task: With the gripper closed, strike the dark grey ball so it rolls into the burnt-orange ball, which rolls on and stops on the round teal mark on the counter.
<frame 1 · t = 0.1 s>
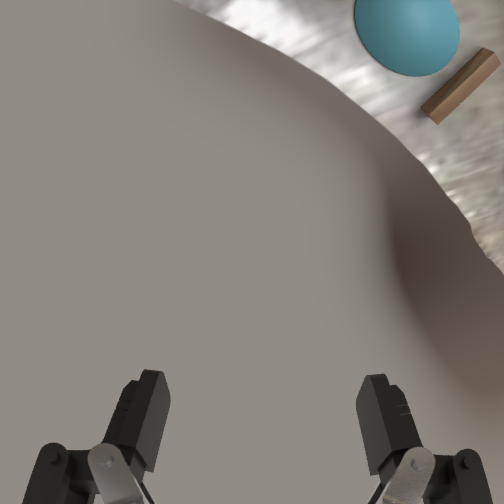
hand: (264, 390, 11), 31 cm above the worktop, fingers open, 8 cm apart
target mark: (411, 23, 22), on the worktop
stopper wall: (457, 81, 26), on the worktop
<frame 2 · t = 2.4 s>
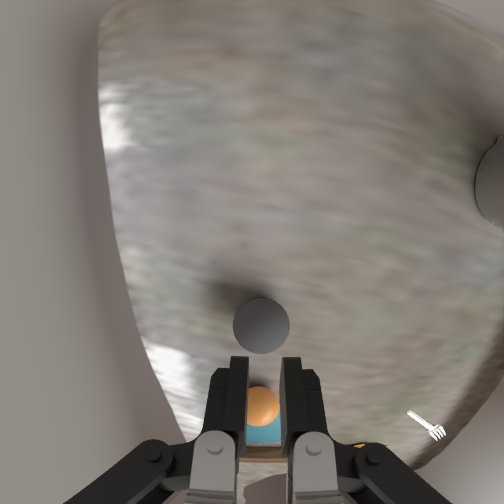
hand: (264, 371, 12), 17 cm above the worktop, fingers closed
object ball: (258, 406, 35), on the worktop
dark grey ball: (261, 326, 29), on the worktop
fork: (425, 421, 44), on the worktop
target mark: (257, 423, 41), on the worktop
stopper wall: (256, 449, 46), on the worktop
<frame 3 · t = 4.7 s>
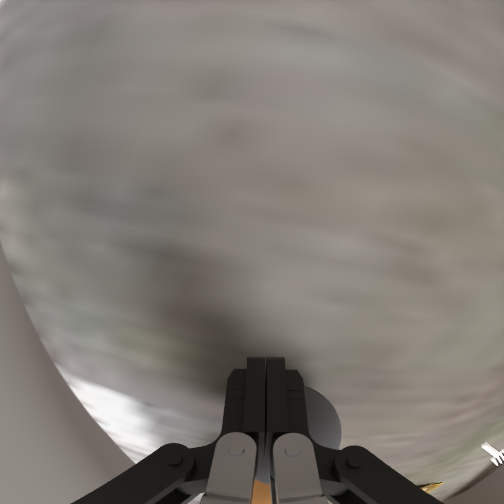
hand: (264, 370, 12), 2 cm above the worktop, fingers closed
object ball: (274, 484, 16), on the worktop
dark grey ball: (285, 435, 13), on the worktop
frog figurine: (393, 495, 29), on the worktop
fork: (491, 447, 25), on the worktop
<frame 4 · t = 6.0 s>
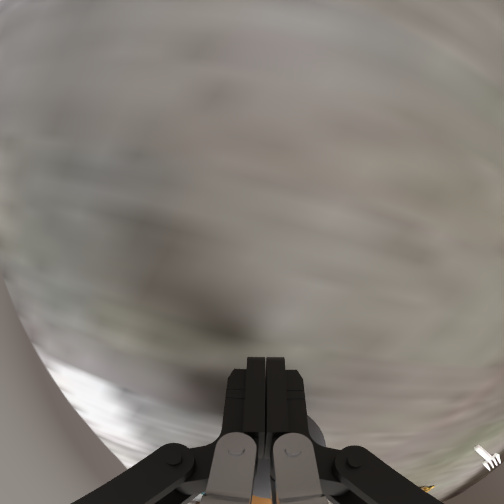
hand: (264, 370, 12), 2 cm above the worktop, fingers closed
dark grey ball: (273, 452, 13), on the worktop
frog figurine: (382, 499, 28), on the worktop
fork: (484, 451, 25), on the worktop
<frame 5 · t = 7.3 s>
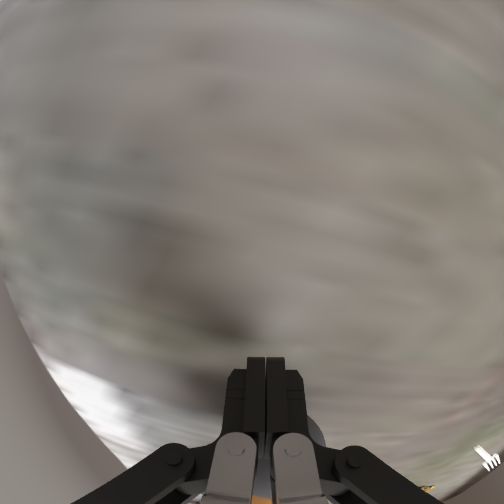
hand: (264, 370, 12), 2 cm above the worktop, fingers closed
dark grey ball: (273, 452, 13), on the worktop
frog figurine: (383, 498, 28), on the worktop
fork: (484, 451, 25), on the worktop
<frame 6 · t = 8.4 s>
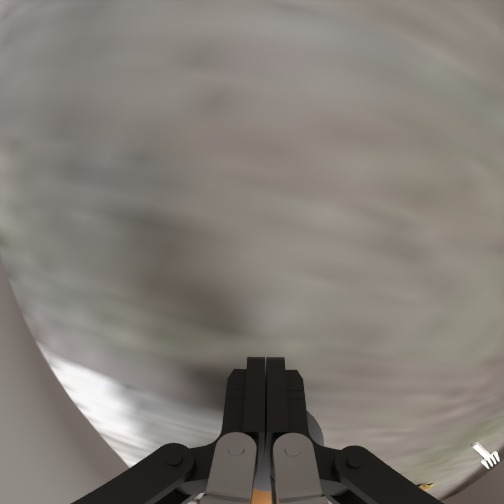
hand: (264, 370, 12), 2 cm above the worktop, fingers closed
object ball: (257, 494, 18), on the worktop
dark grey ball: (272, 446, 14), on the worktop
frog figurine: (382, 496, 29), on the worktop
fork: (483, 449, 25), on the worktop
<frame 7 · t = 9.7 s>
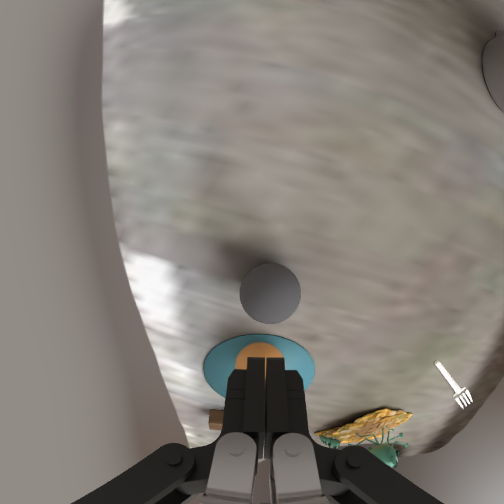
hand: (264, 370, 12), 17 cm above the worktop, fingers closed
object ball: (260, 366, 31), on the worktop
dark grey ball: (270, 293, 27), on the worktop
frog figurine: (366, 420, 42), on the worktop
fork: (451, 380, 39), on the worktop
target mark: (259, 374, 36), on the worktop
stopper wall: (257, 415, 40), on the worktop
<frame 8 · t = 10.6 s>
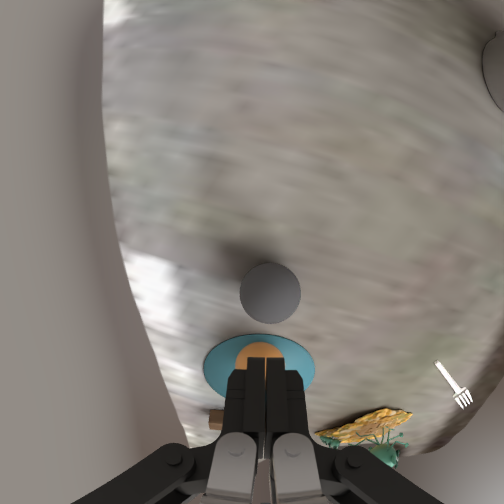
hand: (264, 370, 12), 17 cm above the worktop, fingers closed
object ball: (260, 366, 31), on the worktop
dark grey ball: (270, 293, 27), on the worktop
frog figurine: (366, 420, 42), on the worktop
fork: (451, 380, 39), on the worktop
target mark: (259, 374, 36), on the worktop
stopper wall: (257, 415, 40), on the worktop
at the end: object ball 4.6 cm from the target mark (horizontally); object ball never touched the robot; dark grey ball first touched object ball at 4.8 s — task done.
